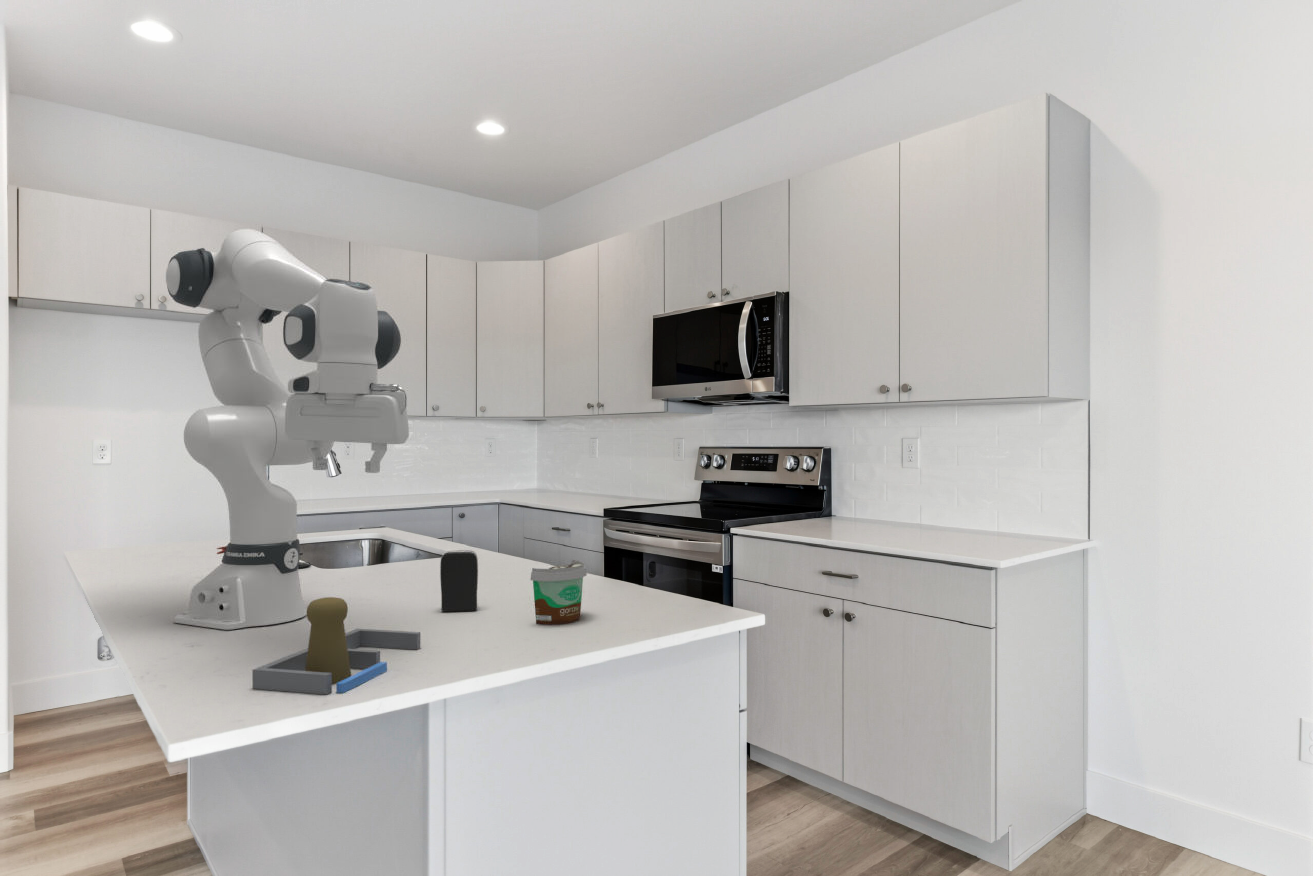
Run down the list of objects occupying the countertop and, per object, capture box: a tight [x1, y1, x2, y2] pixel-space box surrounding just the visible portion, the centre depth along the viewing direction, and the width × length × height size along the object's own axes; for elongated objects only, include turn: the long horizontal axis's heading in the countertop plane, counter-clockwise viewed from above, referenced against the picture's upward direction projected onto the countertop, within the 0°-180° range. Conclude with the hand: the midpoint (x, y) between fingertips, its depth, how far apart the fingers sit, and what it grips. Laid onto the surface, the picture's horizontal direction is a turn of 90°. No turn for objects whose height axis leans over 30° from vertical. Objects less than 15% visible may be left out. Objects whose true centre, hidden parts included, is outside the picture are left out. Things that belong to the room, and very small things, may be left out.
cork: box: [304, 596, 352, 685], centre depth 109 cm, size 6×6×11 cm
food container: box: [529, 559, 588, 626], centre depth 142 cm, size 12×6×10 cm, turn 148°
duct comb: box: [251, 628, 421, 695], centre depth 114 cm, size 13×23×2 cm, turn 166°
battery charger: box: [439, 549, 479, 613], centre depth 152 cm, size 7×4×11 cm, turn 98°
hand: (346, 471), depth 125 cm, fingers open, 8 cm apart
